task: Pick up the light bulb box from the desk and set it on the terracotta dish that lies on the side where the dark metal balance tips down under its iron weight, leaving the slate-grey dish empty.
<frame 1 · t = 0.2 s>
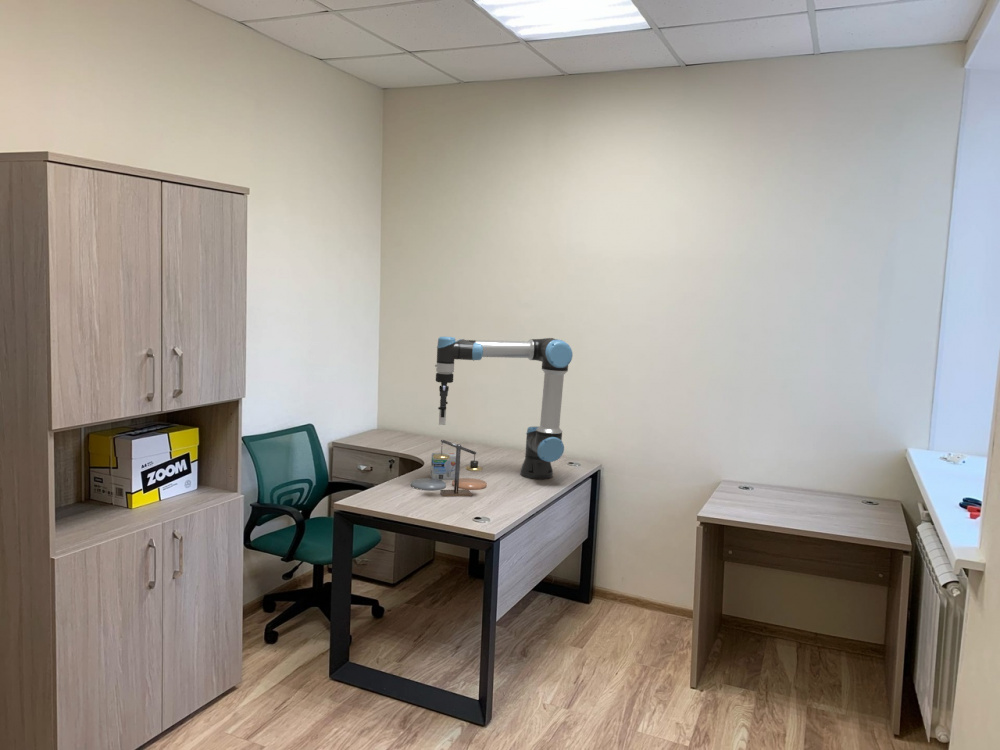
hand: (442, 421, 330), 27 cm above the table, tool pointing down, fingers open, 13 cm apart
light bulb box: (443, 478, 343), on the table
balance: (455, 494, 317), on the table
slate dish: (428, 485, 328), on the table
terracotta dish: (469, 485, 333), on the table
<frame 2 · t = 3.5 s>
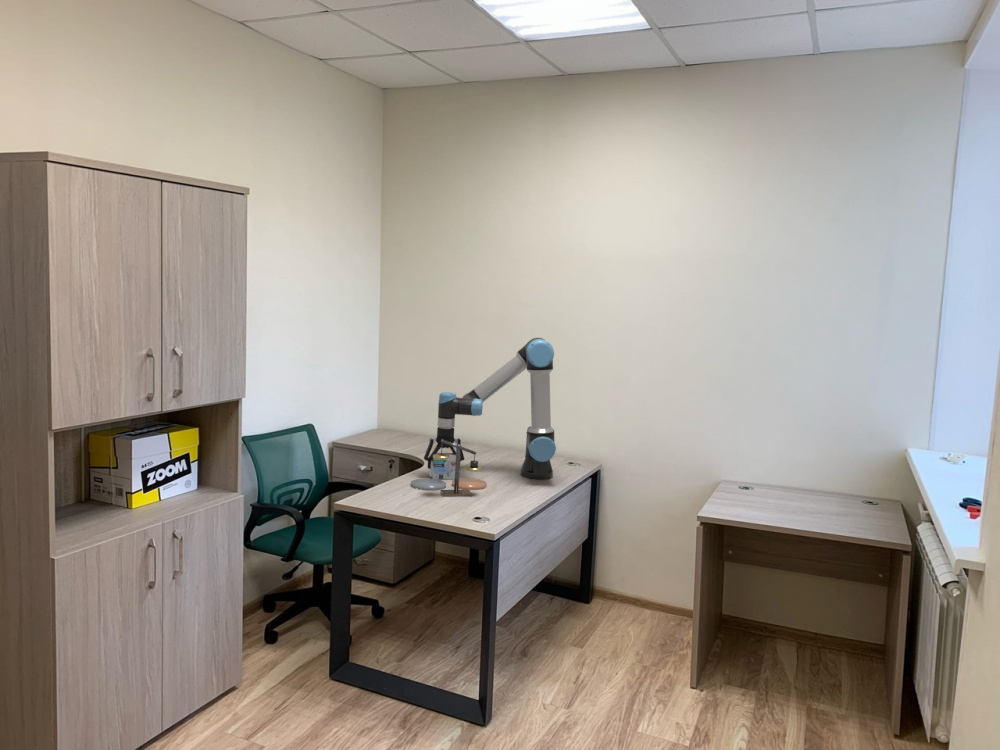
hand: (443, 475, 343), 1 cm above the table, tool pointing down, fingers closed on light bulb box, 11 cm apart
light bulb box: (443, 478, 343), on the table, touching gripper
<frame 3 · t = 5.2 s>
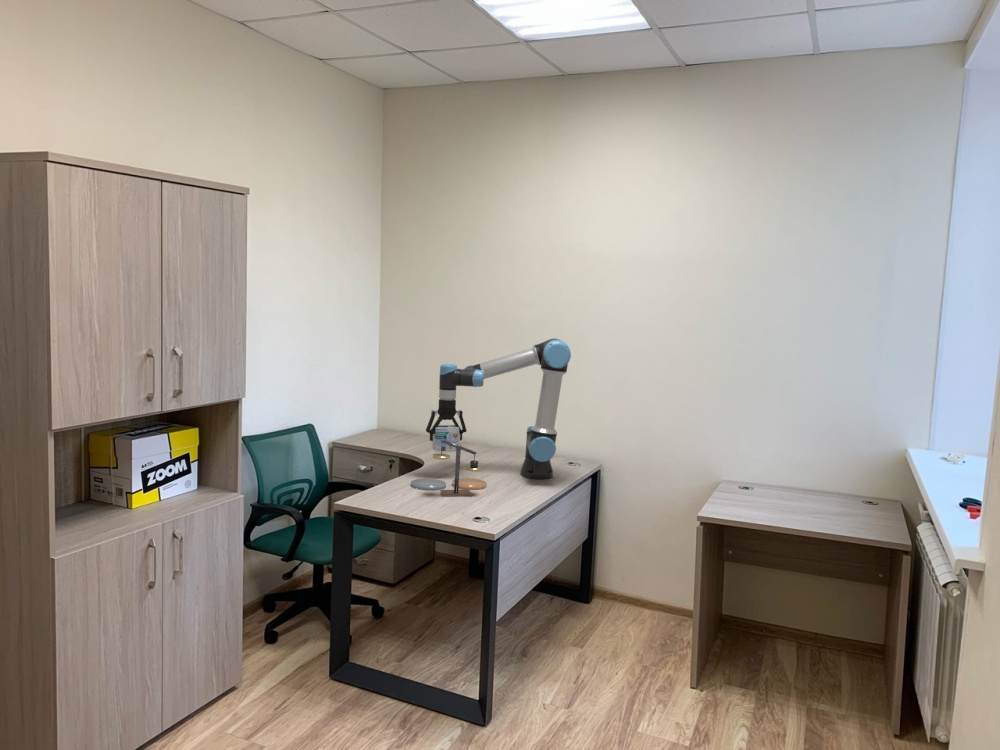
hand: (445, 447, 342), 14 cm above the table, tool pointing down, fingers closed on light bulb box, 11 cm apart
light bulb box: (445, 450, 342), point 12 cm above the table, touching gripper
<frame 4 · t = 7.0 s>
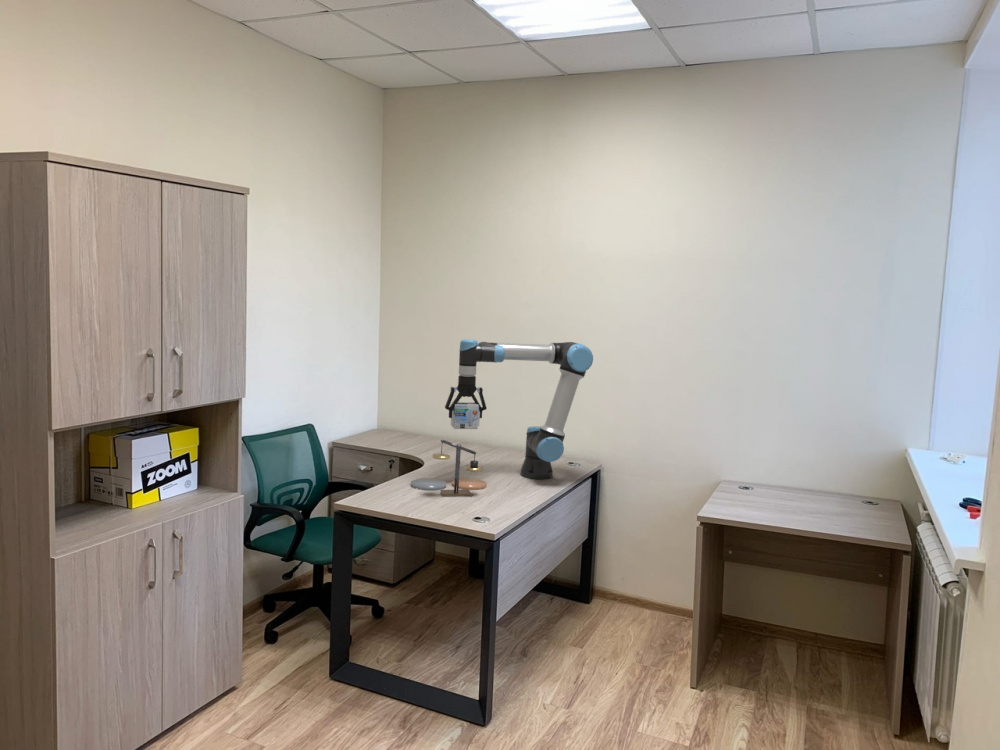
hand: (465, 425, 333), 26 cm above the table, tool pointing down, fingers closed on light bulb box, 11 cm apart
light bulb box: (464, 428, 334), point 24 cm above the table, touching gripper
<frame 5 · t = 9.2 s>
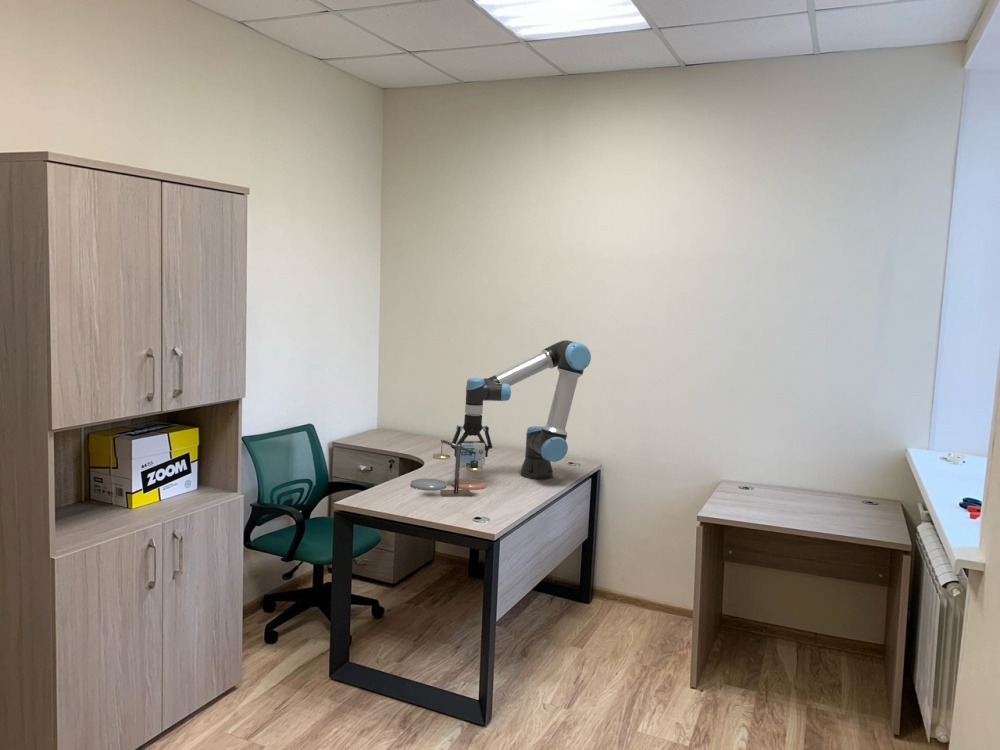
hand: (470, 464, 332), 9 cm above the table, tool pointing down, fingers closed on light bulb box, 11 cm apart
light bulb box: (470, 467, 332), point 8 cm above the table, touching gripper
when the fingers open (3 cm above the table, at t = 11.0 s): light bulb box drops 1 cm, resting on terracotta dish.
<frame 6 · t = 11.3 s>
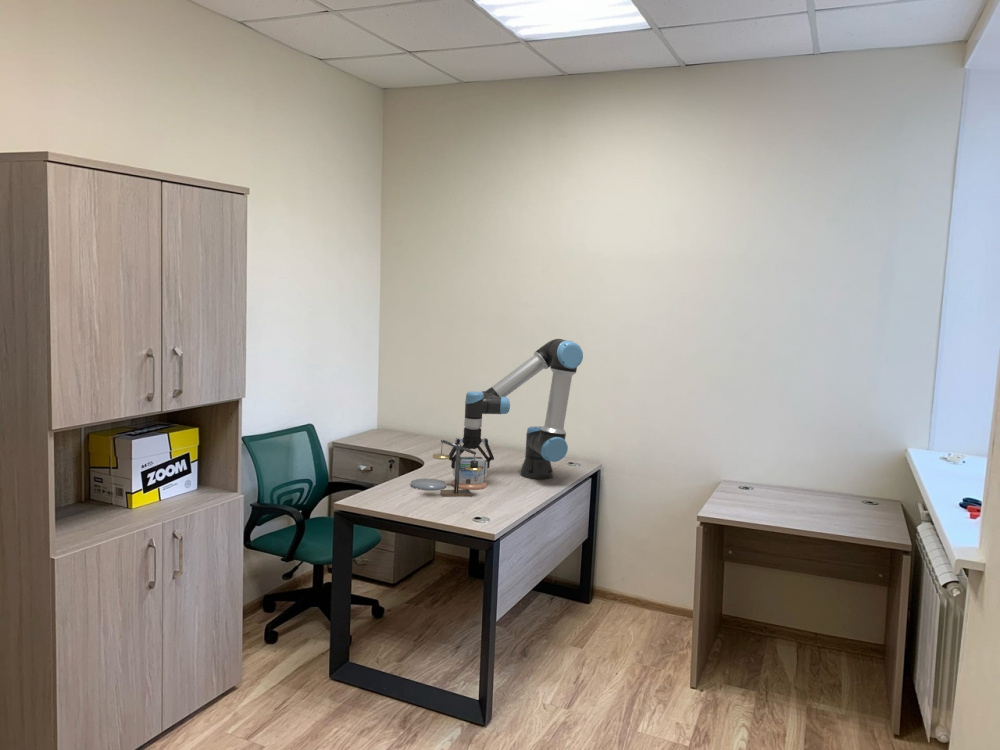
hand: (469, 475, 333), 4 cm above the table, tool pointing down, fingers open, 13 cm apart
light bulb box: (470, 482, 333), point 1 cm above the table, touching terracotta dish
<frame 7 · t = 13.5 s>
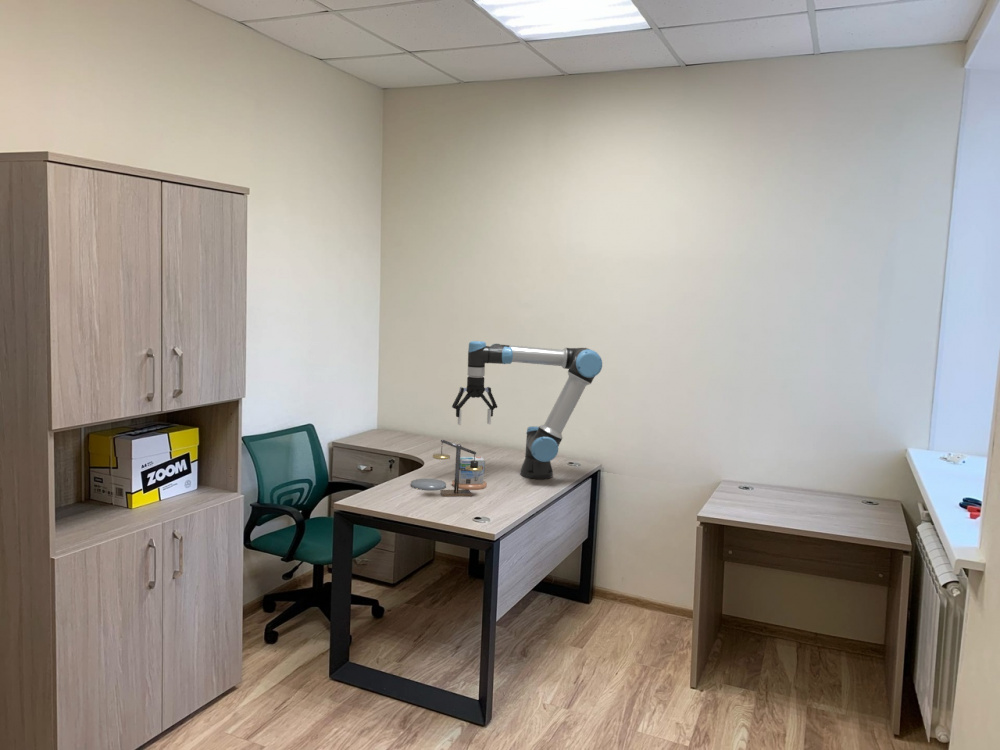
hand: (474, 424, 339), 25 cm above the table, tool pointing down, fingers open, 13 cm apart
nothing on the table moved.
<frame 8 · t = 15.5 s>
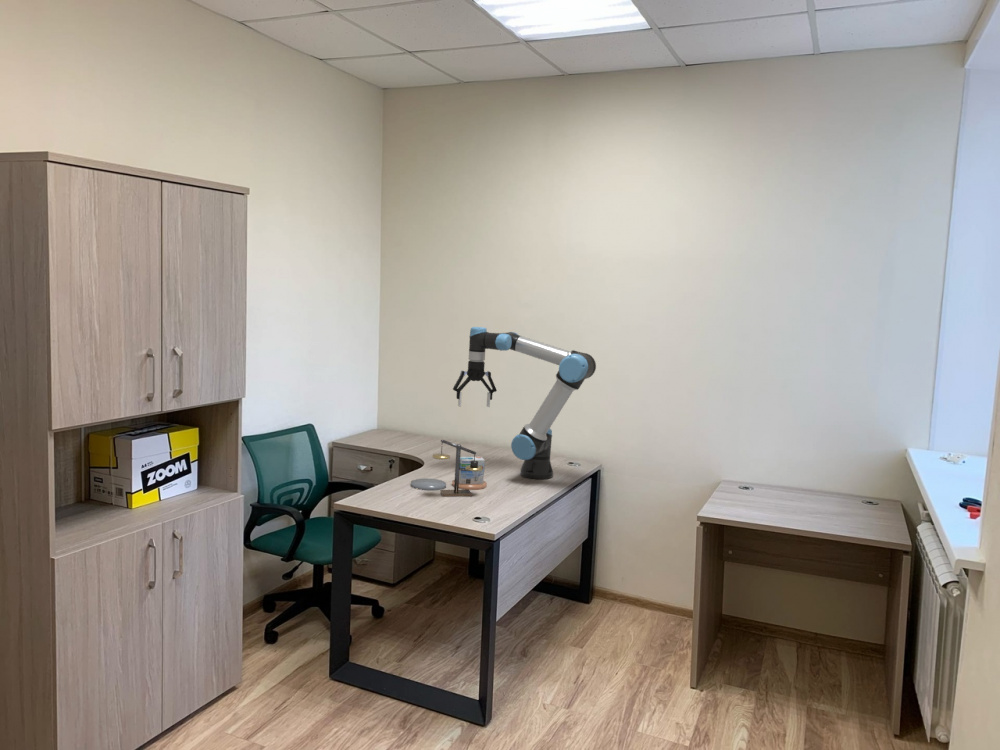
hand: (473, 406, 354), 31 cm above the table, tool pointing down, fingers open, 13 cm apart
nothing on the table moved.
at the end: light bulb box 0.3 cm from the terracotta dish (horizontally); light bulb box touching terracotta dish; light bulb box tilted 0° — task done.
